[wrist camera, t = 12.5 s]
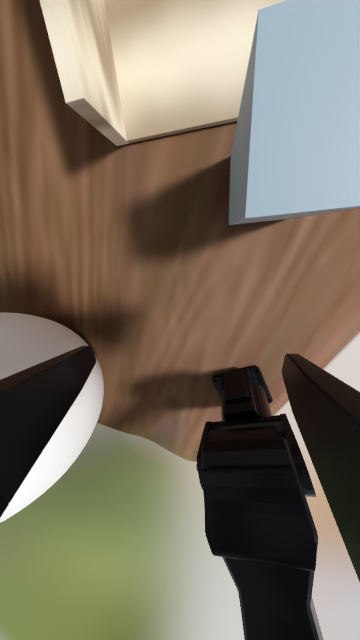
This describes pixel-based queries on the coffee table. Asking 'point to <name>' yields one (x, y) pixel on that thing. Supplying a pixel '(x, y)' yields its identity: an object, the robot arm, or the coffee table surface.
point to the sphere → (78, 425)
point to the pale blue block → (299, 114)
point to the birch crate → (152, 62)
